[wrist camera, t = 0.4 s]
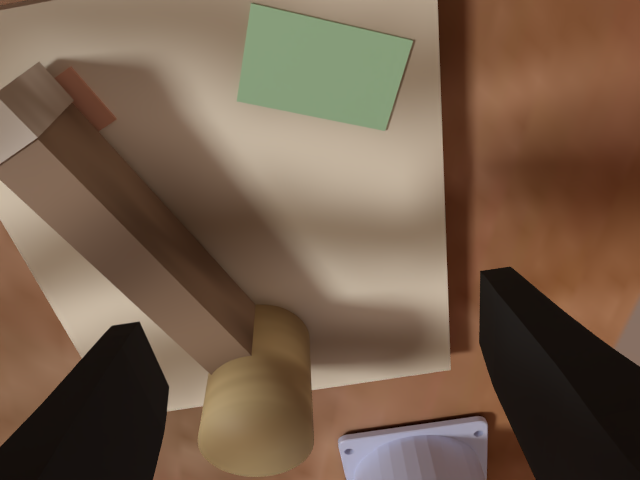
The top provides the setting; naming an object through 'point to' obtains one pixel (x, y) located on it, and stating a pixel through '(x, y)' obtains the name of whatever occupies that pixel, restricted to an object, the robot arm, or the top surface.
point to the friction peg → (163, 278)
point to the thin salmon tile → (85, 99)
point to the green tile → (321, 67)
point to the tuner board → (254, 181)
